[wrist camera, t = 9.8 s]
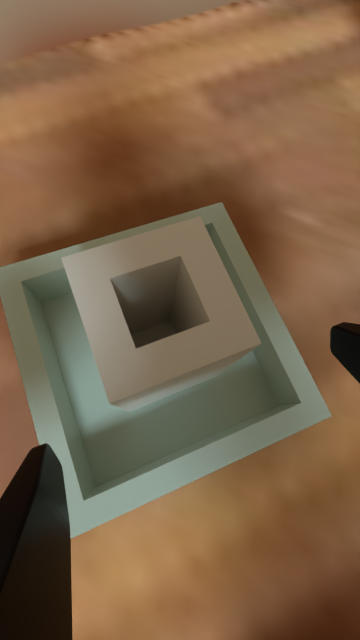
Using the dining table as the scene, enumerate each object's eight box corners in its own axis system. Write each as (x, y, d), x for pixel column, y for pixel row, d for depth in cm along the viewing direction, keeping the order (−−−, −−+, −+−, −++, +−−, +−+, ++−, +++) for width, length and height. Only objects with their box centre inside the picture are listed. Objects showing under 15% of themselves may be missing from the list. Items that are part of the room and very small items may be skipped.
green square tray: (298, 417, 20) (332, 416, 16) (84, 515, 18) (64, 541, 14) (210, 237, 24) (221, 201, 20) (21, 296, 21) (-7, 269, 17)
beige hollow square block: (214, 377, 20) (261, 343, 11) (129, 412, 19) (109, 403, 10) (181, 299, 21) (199, 215, 13) (100, 327, 20) (61, 257, 12)
